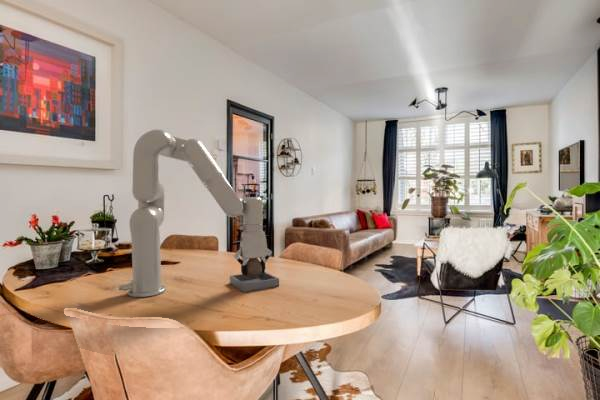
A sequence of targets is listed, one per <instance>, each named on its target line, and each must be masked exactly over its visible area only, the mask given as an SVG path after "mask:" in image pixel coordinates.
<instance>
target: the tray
mask: <svg viewBox="0 0 600 400" xmlns="http://www.w3.org/2000/svg"><path fill="white" fill-rule="evenodd" d="M230 283H231V284H230ZM229 284H230V285H232V286H233V285H234V286H233V287H234V288H236V287H237V288H236V289H238V290H239V289H240V292H242V291H243V292H242V293H248V292H247V291H250V292H254V291H253V290H255V291H260V290H259V289H261V290H265V289H264V288H266V289H271V288H270V287H272V288H275V287H276V286H277V287H279V286H280V278H279V277H276V276H274V275H273V274H271V273H270V272H269V273H268V272H266V271H265V273H262V274H261V276H260V277H259V278H258V279H249V278H247V276H245V275H243V274H242V273H238V274H234V275H229ZM277 287H276V288H277Z"/></svg>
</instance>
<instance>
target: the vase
mask: <svg viewBox="0 0 600 400" xmlns="http://www.w3.org/2000/svg"><path fill="white" fill-rule="evenodd" d="M246 265H247V275H246V276H247V278H249V279H258V278H259V277H260V276H261V274H262V265H261V260H260V259H259V258H252V259H248V260H247V262H246Z"/></svg>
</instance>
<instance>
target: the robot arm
mask: <svg viewBox="0 0 600 400" xmlns="http://www.w3.org/2000/svg"><path fill="white" fill-rule="evenodd" d="M159 156H163V157H165V158H166V157H167V158H170V159H174V160H179V161H183V162H187V163H188V165H189V166H190V167H191V169H192V170H193V172H194V173H195V175H196V176H197V178H198V179H199V181H200V182H201V183H202V185H203V186H204V187H205V188H206V189H207V190H208V192H209V193H210V195H211V196H212V198H214V200H215V201H216V203H217V204H218V206H219V207H220V208H221V210H222V211H223V213H224V214H225V215H226V216H227V217H229V218H236V217H239V216H240V215H242V220H243V223H242V226H239V230H240V231H243V232H241V235H240V241H239V243H240V244H239V249H237V251H236V252H235V253H234V254H233V259H235V260H236V261H237V262H238V263H239V264H240V271H241V273H240V274H243V275H245V276H246V275H247V265H246V262H247V261H248V260H249V259H252V258H258V259H259V261H260V262H261V265H262V273H265V272H266V263H267V261H268V259H270V256H271V255H273V254H272V253H273V251H272V250H271V249H269V248H268V243H267V237H266V231H263V228H264V226H263V222H264V221H263V220H264V219H263V217H264V216H263V212H264V211H263V199H262V198H261V197H259V196H257V197H256V196H251V197H250V196H247V197H239V196H238V194H237V193H236V191H235V190H234V188H233V187H232V186H231V184H230V183H229V181H228V179H226V176H225V175H224V173H223V171H222V170H221V168H220V166H219V165H218V164H217V162H216V161H215V160H214V158H213V156H212V155H211V154H210V152H209V151H208V150H207V147H205V146H204V144H203V142H201V141H200V140H199V139H196V138H188V139H182V138H180V137H176V136H172V135H171V134H170V133H169V132H167V131H165V130H164V129H163V130H162V129H152V130H149V131H146V132H145V133H144V134H142V135H141V136H140V137H139V138H138V140H137V141H136V142H135V145H134V148H133V154H132V159H133V160H132V188H131V189H132V190H131V192H132V195H133V197H134V199H135V200H136V201H137V202H138V205H137V206H138V207H137V209H135V210H134V211H133V212H132V214H131V215H130V218H129V232H130V237H131V238H130V239H131V261H132V262H131V263H132V267H131V268H132V279H131V281H130V282H128V283H126V284H123V283H122V284H118V291H122V292H124V291H128V296H130V297H132V298H133V297H134V298H146V297H147V298H148V297H154V296H157V295H160V294H163V293H164V292H165V291H166V290H167V288H166V285H164V284H162V264H161V263H162V259H161V256H162V255H161V236H160V227H161V225H162V224H163V222H164V220H165V188H164V186H163V184H162V183H161V181H160V180H159V168H160V167H159ZM240 257H241V258H240Z"/></svg>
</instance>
